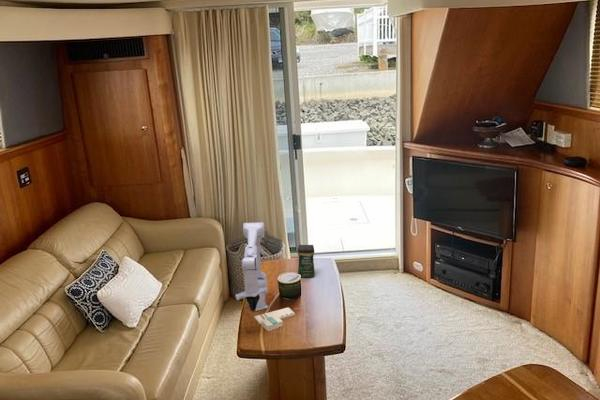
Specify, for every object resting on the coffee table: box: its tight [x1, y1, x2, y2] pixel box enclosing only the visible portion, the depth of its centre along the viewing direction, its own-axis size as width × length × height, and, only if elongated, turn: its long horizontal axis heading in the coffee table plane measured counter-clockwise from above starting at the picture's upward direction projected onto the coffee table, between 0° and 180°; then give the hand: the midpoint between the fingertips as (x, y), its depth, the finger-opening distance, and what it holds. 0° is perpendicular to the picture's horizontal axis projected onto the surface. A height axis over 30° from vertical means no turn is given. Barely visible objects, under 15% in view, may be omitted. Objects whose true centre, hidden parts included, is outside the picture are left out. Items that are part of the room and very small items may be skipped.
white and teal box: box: [261, 316, 284, 332], centre depth 228 cm, size 6×8×4 cm
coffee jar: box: [297, 244, 316, 279], centre depth 279 cm, size 10×8×19 cm
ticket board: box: [254, 307, 296, 326], centre depth 236 cm, size 7×18×1 cm, turn 116°
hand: (252, 310), depth 221 cm, fingers closed
